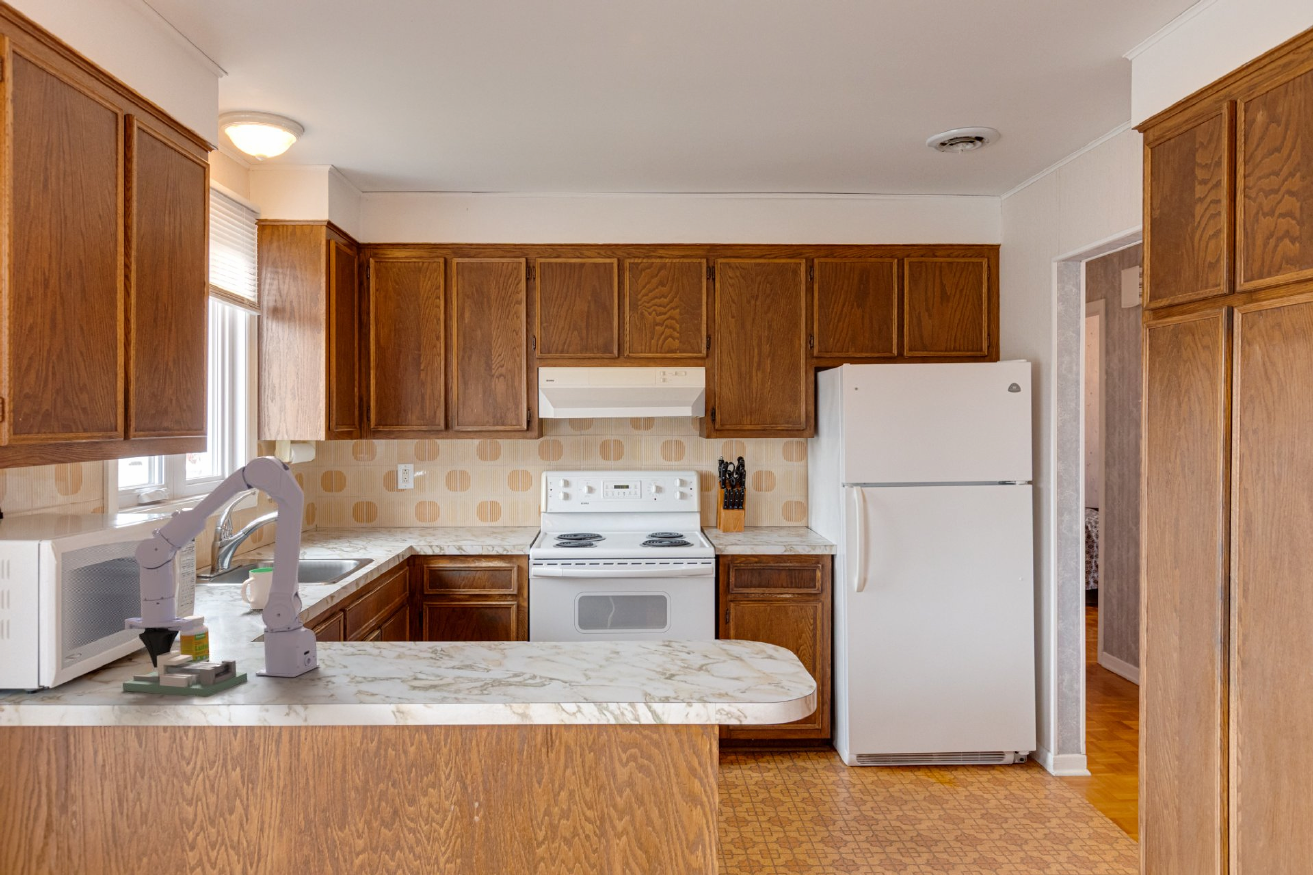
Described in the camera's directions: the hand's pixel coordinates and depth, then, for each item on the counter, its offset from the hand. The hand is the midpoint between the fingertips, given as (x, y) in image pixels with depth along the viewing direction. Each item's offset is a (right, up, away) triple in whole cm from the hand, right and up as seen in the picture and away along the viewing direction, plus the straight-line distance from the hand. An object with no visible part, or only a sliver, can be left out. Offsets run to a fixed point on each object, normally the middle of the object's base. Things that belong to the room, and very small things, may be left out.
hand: (160, 666), depth 163 cm
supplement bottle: (-2, -4, +15) cm, 16 cm away
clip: (+4, -2, -1) cm, 4 cm away
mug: (-13, -3, +69) cm, 70 cm away
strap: (+9, -1, -2) cm, 9 cm away
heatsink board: (+6, -3, -2) cm, 7 cm away
